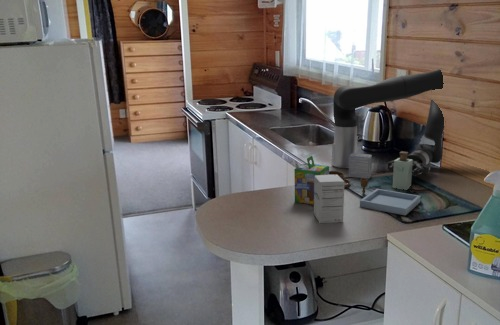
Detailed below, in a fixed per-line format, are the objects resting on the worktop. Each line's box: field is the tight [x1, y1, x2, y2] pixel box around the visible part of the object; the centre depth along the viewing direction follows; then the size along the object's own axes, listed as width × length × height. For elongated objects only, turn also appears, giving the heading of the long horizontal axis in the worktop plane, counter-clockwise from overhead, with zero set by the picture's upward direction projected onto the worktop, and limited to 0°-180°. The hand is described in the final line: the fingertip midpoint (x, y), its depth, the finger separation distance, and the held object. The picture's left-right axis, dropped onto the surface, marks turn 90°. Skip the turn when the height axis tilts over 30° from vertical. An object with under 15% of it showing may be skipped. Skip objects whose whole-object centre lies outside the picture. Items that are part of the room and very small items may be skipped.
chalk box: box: [294, 155, 330, 206], centre depth 155 cm, size 9×9×15 cm
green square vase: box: [392, 157, 413, 191], centre depth 167 cm, size 5×6×10 cm
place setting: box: [329, 170, 369, 196], centre depth 169 cm, size 18×20×6 cm
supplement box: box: [313, 175, 345, 224], centre depth 139 cm, size 7×7×13 cm
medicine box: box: [348, 153, 373, 180], centre depth 182 cm, size 8×4×9 cm, turn 65°
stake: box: [398, 151, 409, 162], centre depth 167 cm, size 2×2×13 cm
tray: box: [359, 188, 422, 216], centre depth 151 cm, size 15×15×2 cm
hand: (402, 171), depth 167 cm, fingers open, 8 cm apart
